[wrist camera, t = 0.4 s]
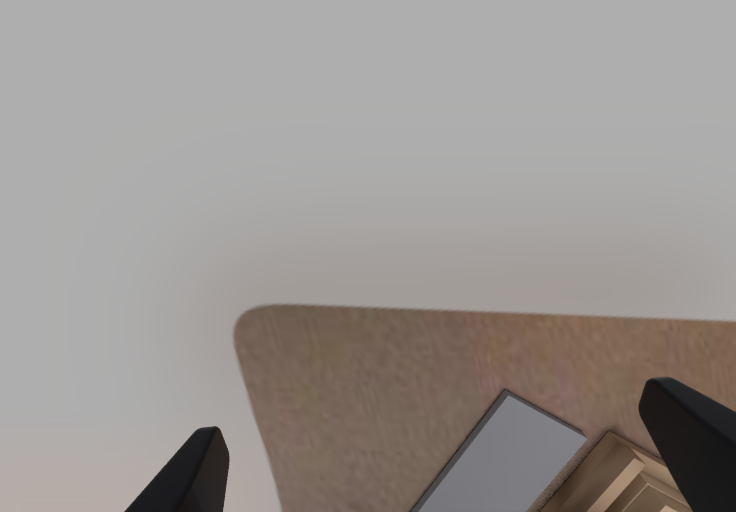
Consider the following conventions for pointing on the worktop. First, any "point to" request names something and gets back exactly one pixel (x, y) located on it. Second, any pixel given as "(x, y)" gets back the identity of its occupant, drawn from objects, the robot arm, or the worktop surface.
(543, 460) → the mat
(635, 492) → the block
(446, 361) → the worktop surface
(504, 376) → the worktop surface
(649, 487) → the offcut top
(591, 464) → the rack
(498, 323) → the worktop surface
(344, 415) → the worktop surface
